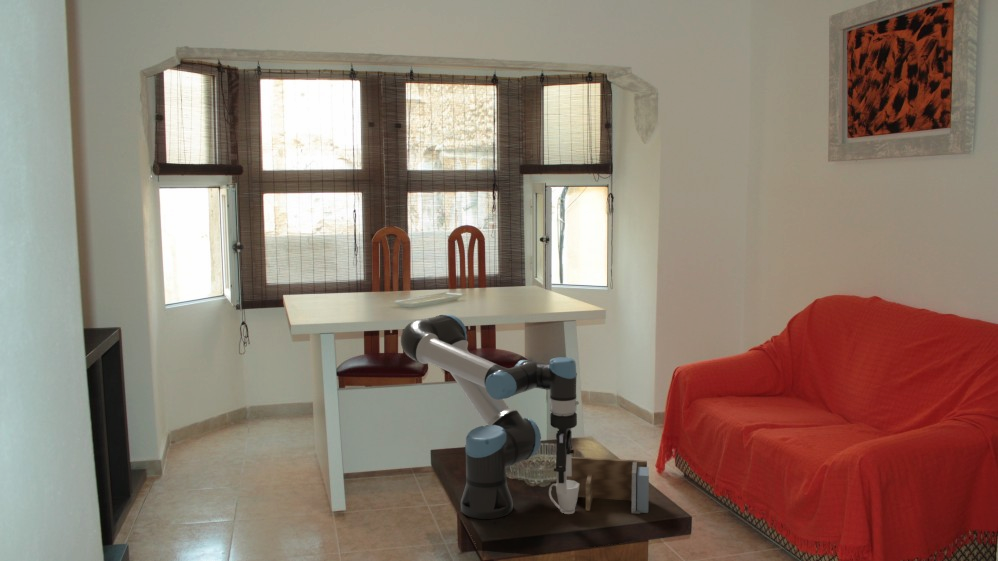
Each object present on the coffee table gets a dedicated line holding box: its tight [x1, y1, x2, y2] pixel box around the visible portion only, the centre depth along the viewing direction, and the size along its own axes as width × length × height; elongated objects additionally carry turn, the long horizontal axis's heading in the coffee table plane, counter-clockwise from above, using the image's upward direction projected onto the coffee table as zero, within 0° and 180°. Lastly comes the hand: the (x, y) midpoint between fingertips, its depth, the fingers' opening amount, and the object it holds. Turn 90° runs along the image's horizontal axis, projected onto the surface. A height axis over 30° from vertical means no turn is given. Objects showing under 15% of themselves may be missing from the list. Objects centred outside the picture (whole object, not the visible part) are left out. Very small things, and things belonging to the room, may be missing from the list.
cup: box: [548, 480, 580, 515], centre depth 238 cm, size 7×10×8 cm
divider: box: [585, 474, 593, 511], centre depth 241 cm, size 1×8×8 cm, turn 169°
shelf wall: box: [567, 456, 648, 501], centre depth 246 cm, size 25×1×12 cm, turn 79°
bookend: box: [630, 462, 641, 515], centre depth 239 cm, size 2×9×12 cm, turn 169°
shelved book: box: [637, 466, 650, 514], centre depth 239 cm, size 3×7×11 cm, turn 169°
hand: (564, 484), depth 237 cm, fingers open, 13 cm apart
